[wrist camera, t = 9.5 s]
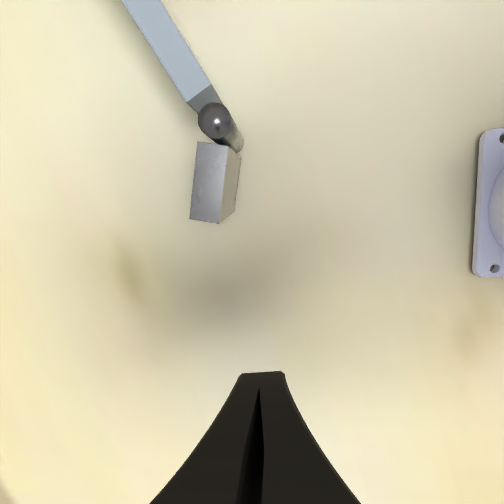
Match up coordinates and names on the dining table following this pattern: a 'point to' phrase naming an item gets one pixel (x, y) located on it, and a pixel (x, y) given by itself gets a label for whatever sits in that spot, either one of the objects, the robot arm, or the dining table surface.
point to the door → (172, 52)
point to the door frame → (216, 165)
